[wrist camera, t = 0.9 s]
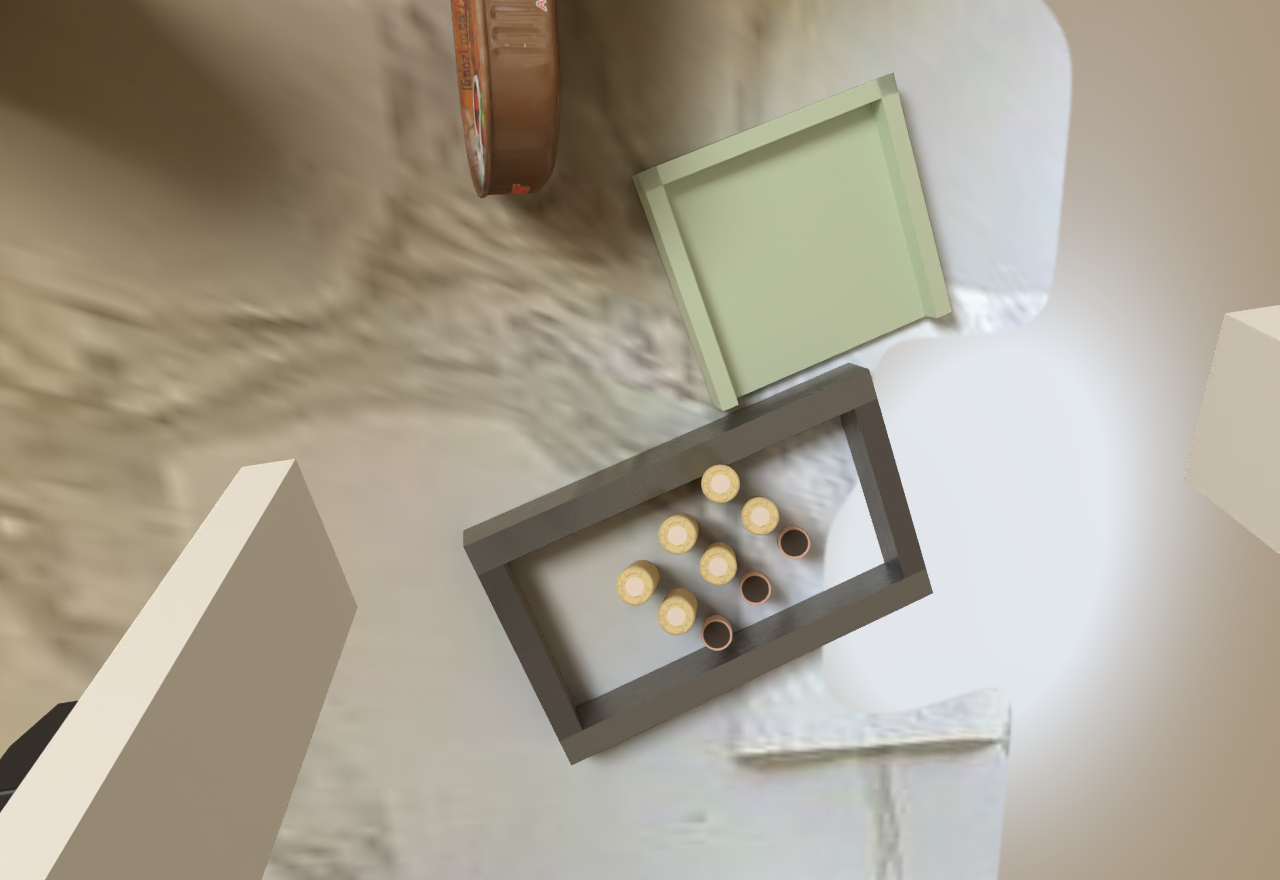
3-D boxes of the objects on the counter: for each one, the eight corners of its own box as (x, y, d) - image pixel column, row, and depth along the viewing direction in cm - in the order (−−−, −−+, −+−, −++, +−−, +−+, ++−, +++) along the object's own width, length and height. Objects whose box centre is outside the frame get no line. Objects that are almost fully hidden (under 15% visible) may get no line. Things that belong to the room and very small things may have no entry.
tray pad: (935, 309, 39) (952, 311, 37) (713, 405, 37) (723, 411, 36) (877, 78, 35) (893, 72, 34) (631, 175, 34) (638, 173, 33)
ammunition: (611, 595, 34) (742, 688, 36) (723, 461, 33) (847, 564, 36) (592, 553, 38) (710, 638, 41) (691, 435, 38) (803, 528, 40)
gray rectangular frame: (911, 577, 42) (932, 593, 40) (566, 740, 40) (571, 765, 38) (848, 362, 38) (869, 369, 36) (463, 530, 36) (463, 546, 34)
